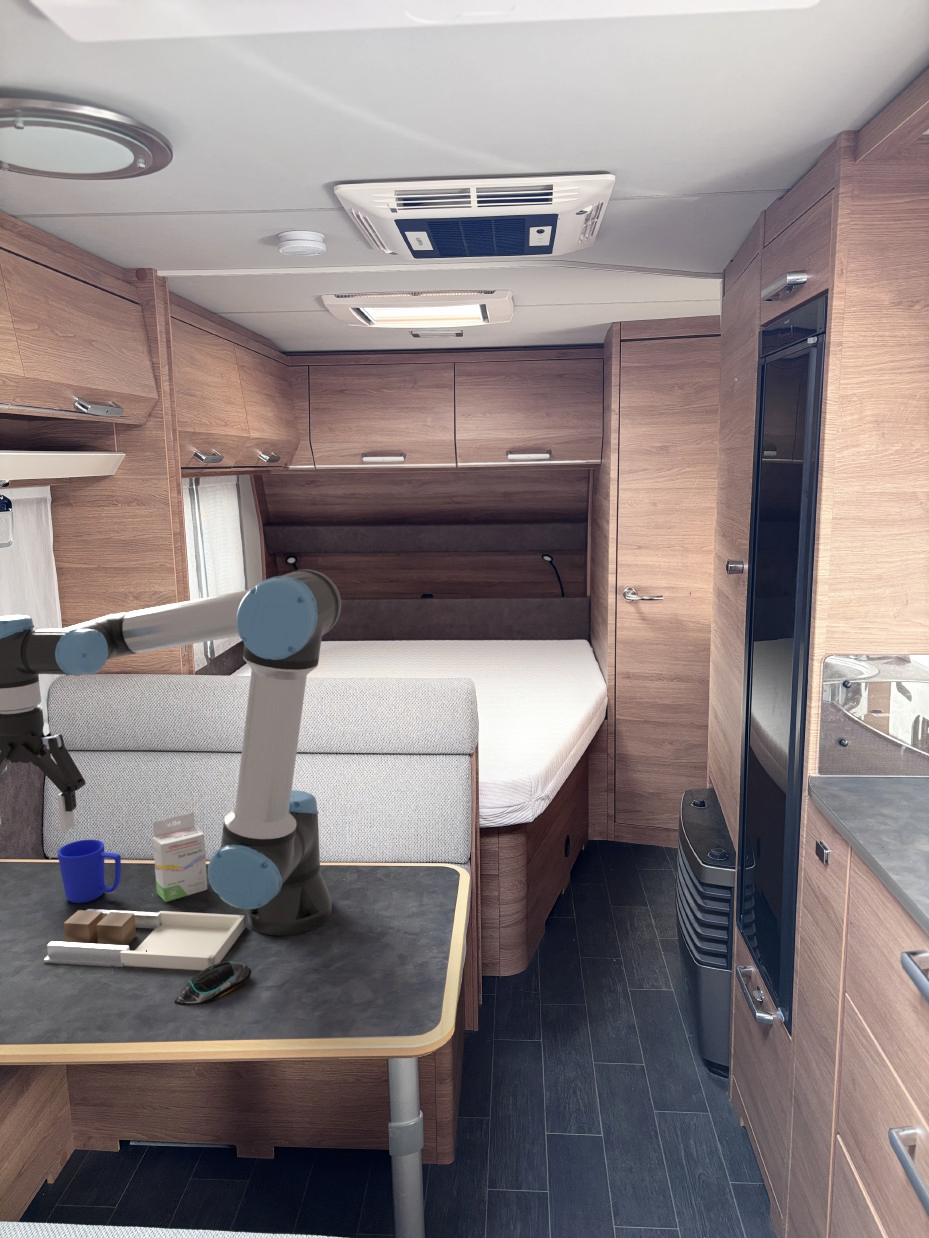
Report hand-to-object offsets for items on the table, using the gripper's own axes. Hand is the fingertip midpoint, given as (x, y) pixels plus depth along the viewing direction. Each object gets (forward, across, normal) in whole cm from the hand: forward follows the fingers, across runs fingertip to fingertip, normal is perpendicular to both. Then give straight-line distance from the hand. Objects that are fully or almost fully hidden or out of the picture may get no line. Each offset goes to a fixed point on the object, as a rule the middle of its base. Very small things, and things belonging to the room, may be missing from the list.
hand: (31, 827), depth 152 cm
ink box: (+21, -17, -19) cm, 33 cm away
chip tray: (+21, -26, 0) cm, 33 cm away
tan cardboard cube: (+21, -14, 0) cm, 25 cm away
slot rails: (+21, -12, 0) cm, 24 cm away
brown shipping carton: (+21, -8, 0) cm, 22 cm away
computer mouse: (+21, -36, +12) cm, 44 cm away
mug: (+21, -1, -15) cm, 26 cm away
